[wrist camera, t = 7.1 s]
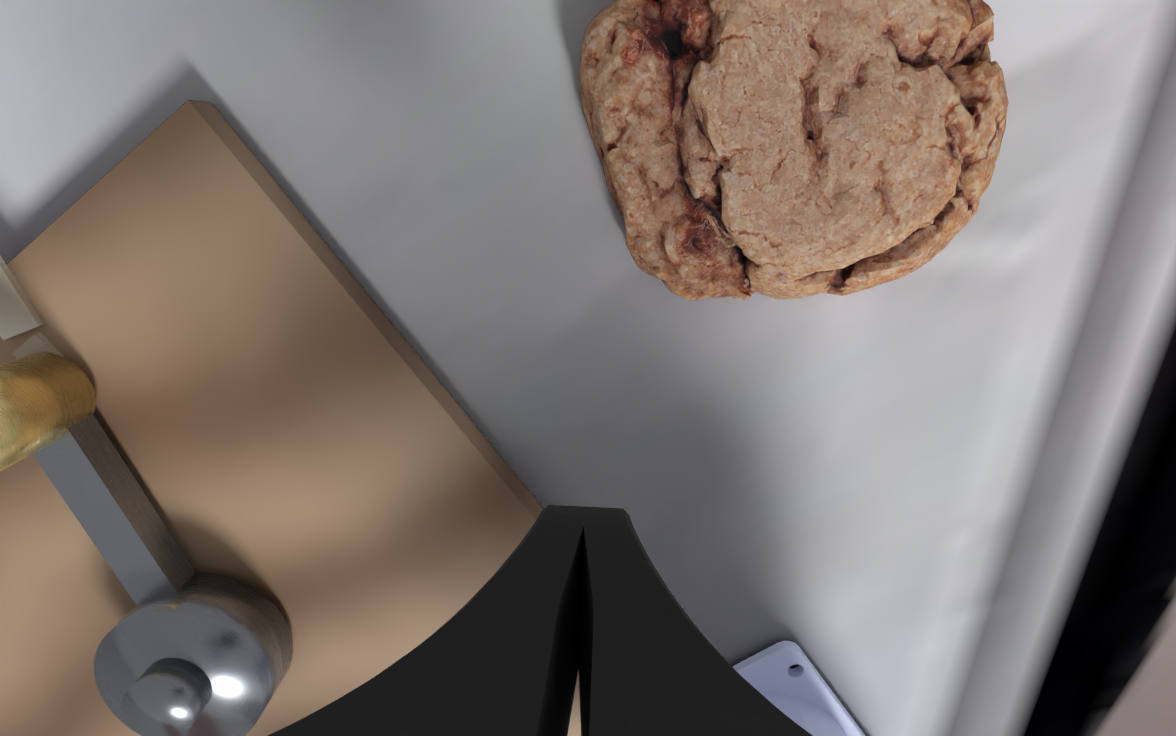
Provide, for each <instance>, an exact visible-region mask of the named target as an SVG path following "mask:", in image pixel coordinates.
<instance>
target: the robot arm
mask: <svg viewBox="0 0 1176 736" xmlns="http://www.w3.org/2000/svg"><path fill="white" fill-rule="evenodd" d="M795 664H798V665H799V666H798V667H797V668H793V669H792V668H789V667H790V666H791V665H795ZM578 670H579V696H580V720H581V736H865V734H864V733H863V732H862V730H861V729H860V728H859V726H858V725H857V724H856V722H855V721H854V720H853V718H852V717H851V716H850V714H849V713H848V712H847V710H846V709H845V708H844V706H843V705H842V704H841V702H840V701H839V700H838V698H837V697H836V695H835V694H834V693H833V691H832V690H831V689H830V687H829V686H828V685H827V683H826V682H825V681H824V679H823V678H822V677H821V675H820V674H819V673H818V671H817V670H816V669H815V667H814V666H813V665H812V663H811V662H810V661H809V659H808V658H807V657H806V655H805V654H804V653H803V651H802V650H801V649H800V647H799V646H798V645H797V644H796V643H794V642H791V641H781V642H778V643H776V644H774V645H772V646H770V647H768V648H766V649H765V650H763V651H761V652H759V653H757V654H755V655H753V656H751V657H749V658H747V659H746V660H744V661H742V662H740V663H738V664H736V665H734V666H731V665H730V664H729V663H728V662H727V661H726V660H725V659H724V658H723V657H722V656H721V655H720V654H719V652H718V651H717V650H716V649H715V648H714V647H713V646H712V645H711V644H710V642H709V641H708V640H707V639H706V638H705V637H704V635H703V634H702V633H701V632H700V631H699V629H698V628H697V627H696V626H695V624H694V623H693V622H692V621H691V619H690V618H689V617H688V615H687V614H686V613H685V611H684V610H683V609H682V607H681V606H680V605H679V603H678V602H677V601H676V599H675V598H674V596H673V595H672V593H671V592H670V590H669V589H668V588H667V586H666V584H665V583H664V581H663V580H662V578H661V577H660V575H659V573H658V572H657V570H656V569H655V567H654V565H653V564H652V562H651V560H650V559H649V557H648V555H647V553H646V551H645V550H644V548H643V546H642V544H641V542H640V540H639V538H638V536H637V534H636V532H635V529H634V527H633V525H632V522H631V519H630V516H629V515H628V514H627V512H626V511H625V510H624V509H618V508H598V507H577V506H556V505H548V506H547V507H546V508H545V509H543V510H542V511H541V513H540V515H539V516H538V518H537V520H536V521H535V523H534V524H533V526H532V527H531V529H530V530H529V531H528V533H527V534H526V536H525V537H524V538H523V540H522V541H521V542H520V544H519V545H518V546H517V548H516V549H515V550H514V551H513V552H512V554H511V555H510V556H509V557H508V558H507V560H506V561H505V562H504V563H503V565H502V566H501V567H500V568H499V569H498V571H497V572H496V573H495V574H494V575H493V576H492V577H491V578H490V579H489V580H488V581H487V583H486V584H485V585H484V586H483V587H482V588H481V589H480V590H479V591H478V592H477V593H476V594H475V595H474V596H473V597H472V598H471V599H470V600H469V601H468V602H467V603H466V604H465V605H464V606H463V607H462V608H461V609H460V610H459V611H458V612H457V613H456V614H455V615H454V616H453V617H452V618H450V619H449V620H448V621H447V622H446V623H445V624H444V625H443V626H441V627H440V628H439V629H438V630H437V631H436V632H434V633H433V634H432V635H431V636H430V637H428V638H427V639H426V640H425V641H424V642H422V643H421V644H420V645H418V646H417V647H416V648H414V649H413V650H412V651H410V652H409V653H408V654H406V655H405V656H403V657H402V658H401V659H399V660H398V661H396V662H395V663H393V664H392V665H391V666H389V667H388V668H386V669H385V670H383V671H382V672H381V673H379V674H378V675H376V676H375V677H373V678H372V679H370V680H369V681H367V682H365V683H364V684H362V685H360V686H359V687H357V688H356V689H354V690H352V691H351V692H349V693H347V694H346V695H344V696H342V697H341V698H339V699H337V700H335V701H333V702H332V703H330V704H328V705H326V706H325V707H323V708H321V709H319V710H317V711H316V712H314V713H312V714H310V715H308V716H306V717H304V718H302V719H301V720H299V721H297V722H295V723H293V724H291V725H289V726H287V727H285V728H282V729H280V730H278V731H276V732H274V733H272V734H270V735H268V736H567V735H568V729H569V723H570V717H571V711H572V705H573V699H574V693H575V687H576V681H577V675H578Z"/></svg>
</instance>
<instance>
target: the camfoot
mask: <svg viewBox="0 0 1176 736" xmlns="http://www.w3.org/2000/svg"><path fill="white" fill-rule="evenodd" d="M95 407H96V396H95V392H94V388H93V386H92V384H91V382H90V380H89V378H88V377H87V376H86V374H85V373H84V372H83V371H82V370H81V369H80V368H79V367H78V366H77V365H76V364H74V363H73V362H72V361H70V360H68V359H67V358H65V357H62V356H60V355H57V354H54V353H48V352H37V353H32V354H29V355H27V356H24V357H21V358H19V359H16V360H13V361H10V362H8V363H5V364H2V365H0V471H2V470H4V469H6V468H8V467H9V466H11V465H13V464H15V463H17V462H19V461H20V460H22V459H24V458H26V457H28V456H30V455H31V454H32V455H33V456H34V458H35V459H36V460H37V462H38V463H39V465H40V466H41V468H42V469H43V471H44V472H45V473H46V475H47V476H48V478H49V479H50V481H51V482H52V484H53V485H54V487H55V488H56V489H57V491H58V492H59V494H60V495H61V497H62V498H63V500H64V501H65V502H66V504H67V505H68V507H69V508H70V510H71V511H72V513H73V514H74V515H75V517H76V518H77V520H78V521H79V523H80V524H81V526H82V527H83V529H84V530H85V531H86V533H87V534H88V536H89V537H90V539H91V540H92V542H93V543H94V544H95V546H96V547H97V549H98V550H99V552H100V553H101V555H102V556H103V558H104V559H105V560H106V562H107V563H108V565H109V566H110V568H111V569H112V571H113V572H114V573H115V575H116V576H117V578H118V579H119V581H120V582H121V584H122V585H123V587H124V588H125V589H126V591H127V592H128V594H129V595H130V597H131V598H132V600H133V601H134V602H135V604H136V606H135V607H134V608H133V609H132V610H131V611H130V612H129V613H128V614H127V615H126V616H125V617H124V618H123V619H122V620H121V621H120V622H119V623H118V624H117V625H116V626H115V627H114V628H112V629H111V630H110V631H109V632H108V633H107V635H106V636H105V637H104V638H103V639H102V641H101V643H100V644H99V646H98V648H97V651H96V654H95V658H94V677H95V682H96V685H97V688H98V691H99V693H100V695H101V697H102V699H103V700H104V702H105V703H106V705H107V706H108V708H109V709H110V710H111V711H112V713H113V714H114V715H115V716H116V717H117V718H118V719H119V720H120V721H121V722H122V723H124V724H125V725H126V726H127V727H129V728H130V729H131V730H133V731H134V732H136V733H138V734H139V735H141V736H245V735H246V734H247V733H248V732H249V731H250V730H251V729H252V728H253V727H254V725H255V724H256V723H257V721H258V719H259V718H260V716H261V714H262V713H263V711H264V710H265V708H266V706H267V705H268V703H269V701H270V700H271V698H272V696H273V695H274V693H275V691H276V690H277V688H278V687H279V685H280V683H281V682H282V680H283V678H284V677H285V675H286V673H287V672H288V669H289V667H290V665H291V661H292V657H293V641H292V636H291V632H290V630H289V627H288V624H287V623H286V621H285V619H284V617H283V616H282V614H281V613H280V611H279V610H278V609H277V607H276V606H275V605H274V604H273V603H272V602H271V601H270V600H269V599H268V598H267V597H266V596H264V595H263V594H262V593H261V592H259V591H258V590H256V589H255V588H253V587H251V586H250V585H248V584H246V583H244V582H242V581H240V580H237V579H235V578H232V577H229V576H226V575H221V574H216V573H208V572H195V570H194V569H193V567H192V566H191V564H190V563H189V561H188V560H187V558H186V557H185V555H184V553H183V552H182V550H181V549H180V547H179V546H178V544H177V543H176V541H175V540H174V538H173V536H172V535H171V533H170V532H169V530H168V529H167V527H166V526H165V524H164V523H163V521H162V519H161V518H160V516H159V515H158V513H157V512H156V510H155V509H154V507H153V506H152V504H151V502H150V501H149V499H148V498H147V496H146V495H145V493H144V492H143V490H142V489H141V487H140V485H139V484H138V482H137V481H136V479H135V478H134V476H133V475H132V473H131V472H130V470H129V468H128V467H127V465H126V464H125V462H124V461H123V459H122V458H121V456H120V455H119V453H118V451H117V450H116V448H115V447H114V445H113V444H112V442H111V441H110V439H109V438H108V436H107V434H106V433H105V431H104V430H103V428H102V427H101V425H100V424H99V422H98V421H97V419H96V418H95V416H94V411H95Z"/></svg>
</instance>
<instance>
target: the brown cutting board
mask: <svg viewBox="0 0 1176 736" xmlns="http://www.w3.org/2000/svg"><path fill="white" fill-rule="evenodd" d="M37 352H48V353H54V354H57V355H60V356H62V357H65V358H67V359H68V360H70V361H72V362H73V363H74V364H76V365H77V366H78V367H79V368H80V369H81V370H82V371H83V372H84V373H85V374H86V376H87V377H88V378H89V380H90V382H91V384H92V386H93V388H94V392H95V396H96V407H95V411H94V416H95V418H96V419H97V421H98V422H99V424H100V425H101V427H102V428H103V430H104V431H105V433H106V434H107V436H108V438H109V439H110V441H111V442H112V444H113V445H114V447H115V448H116V450H117V451H118V453H119V455H120V456H121V458H122V459H123V461H124V462H125V464H126V465H127V467H128V468H129V470H130V472H131V473H132V475H133V476H134V478H135V479H136V481H137V482H138V484H139V485H140V487H141V489H142V490H143V492H144V493H145V495H146V496H147V498H148V499H149V501H150V502H151V504H152V506H153V507H154V509H155V510H156V512H157V513H158V515H159V516H160V518H161V519H162V521H163V523H164V524H165V526H166V527H167V529H168V530H169V532H170V533H171V535H172V536H173V538H174V540H175V541H176V543H177V544H178V546H179V547H180V549H181V550H182V552H183V553H184V555H185V557H186V558H187V560H188V561H189V563H190V564H191V566H192V567H193V569H194V570H195V572H208V573H216V574H221V575H226V576H229V577H232V578H235V579H237V580H240V581H242V582H244V583H246V584H248V585H250V586H251V587H253V588H255V589H256V590H258V591H259V592H261V593H262V594H263V595H264V596H266V597H267V598H268V599H269V600H270V601H271V602H272V603H273V604H274V605H275V606H276V607H277V609H278V610H279V611H280V613H281V614H282V616H283V617H284V619H285V621H286V623H287V624H288V627H289V630H290V632H291V636H292V641H293V657H292V661H291V665H290V667H289V669H288V672H287V673H286V675H285V677H284V678H283V680H282V682H281V683H280V685H279V687H278V688H277V690H276V691H275V693H274V695H273V696H272V698H271V700H270V701H269V703H268V705H267V706H266V708H265V710H264V711H263V713H262V714H261V716H260V718H259V719H258V721H257V723H256V724H255V725H254V727H253V728H252V729H251V730H250V731H249V732H248V733H247V734H246V735H245V736H268V735H270V734H272V733H274V732H276V731H278V730H280V729H282V728H285V727H287V726H289V725H291V724H293V723H295V722H297V721H299V720H301V719H302V718H304V717H306V716H308V715H310V714H312V713H314V712H316V711H317V710H319V709H321V708H323V707H325V706H326V705H328V704H330V703H332V702H333V701H335V700H337V699H339V698H341V697H342V696H344V695H346V694H347V693H349V692H351V691H352V690H354V689H356V688H357V687H359V686H360V685H362V684H364V683H365V682H367V681H369V680H370V679H372V678H373V677H375V676H376V675H378V674H379V673H381V672H382V671H383V670H385V669H386V668H388V667H389V666H391V665H392V664H393V663H395V662H396V661H398V660H399V659H401V658H402V657H403V656H405V655H406V654H408V653H409V652H410V651H412V650H413V649H414V648H416V647H417V646H418V645H420V644H421V643H422V642H424V641H425V640H426V639H427V638H428V637H430V636H431V635H432V634H433V633H434V632H436V631H437V630H438V629H439V628H440V627H441V626H443V625H444V624H445V623H446V622H447V621H448V620H449V619H450V618H452V617H453V616H454V615H455V614H456V613H457V612H458V611H459V610H460V609H461V608H462V607H463V606H464V605H465V604H466V603H467V602H468V601H469V600H470V599H471V598H472V597H473V596H474V595H475V594H476V593H477V592H478V591H479V590H480V589H481V588H482V587H483V586H484V585H485V584H486V583H487V581H488V580H489V579H490V578H491V577H492V576H493V575H494V574H495V573H496V572H497V571H498V569H499V568H500V567H501V566H502V565H503V563H504V562H505V561H506V560H507V558H508V557H509V556H510V555H511V554H512V552H513V551H514V550H515V549H516V548H517V546H518V545H519V544H520V542H521V541H522V540H523V538H524V537H525V536H526V534H527V533H528V531H529V530H530V529H531V527H532V526H533V524H534V523H535V521H536V520H537V518H538V516H539V515H540V513H541V511H542V510H543V507H542V506H541V505H540V504H539V502H538V501H537V500H536V499H535V498H534V496H533V495H532V494H531V493H530V492H529V490H528V489H527V488H526V487H525V485H524V484H523V483H522V482H521V481H520V479H519V478H518V477H517V476H516V474H515V473H514V472H513V471H512V470H511V468H510V467H509V466H508V465H507V463H506V462H505V461H504V460H503V459H502V457H501V456H500V455H499V454H498V452H497V451H496V450H495V449H494V448H493V446H492V445H491V444H490V443H489V441H488V440H487V439H486V438H485V437H484V435H483V434H482V433H481V432H480V430H479V429H478V428H477V427H476V426H475V424H474V423H473V422H472V421H471V419H470V418H469V417H468V416H467V415H466V413H465V412H464V411H463V410H462V408H461V407H460V406H459V405H458V404H457V402H456V401H455V400H454V399H453V398H452V396H451V395H450V394H449V393H448V391H447V390H446V389H445V388H444V387H443V385H442V384H441V383H440V382H439V380H438V379H437V378H436V377H435V376H434V374H433V373H432V372H431V371H430V369H429V368H428V367H427V366H426V365H425V363H424V362H423V361H422V360H421V358H420V357H419V356H418V355H417V354H416V352H415V351H414V350H413V349H412V347H411V346H410V345H409V344H408V343H407V341H406V340H405V339H404V338H403V336H402V335H401V334H400V333H399V332H398V330H397V329H396V328H395V327H394V325H393V324H392V323H391V322H390V321H389V319H388V318H387V317H386V316H385V314H384V313H383V312H382V311H381V310H380V308H379V307H378V306H377V305H376V304H375V302H374V301H373V300H372V299H371V297H370V296H369V295H368V294H367V293H366V291H365V290H364V289H363V288H362V286H361V285H360V284H359V283H358V282H357V280H356V279H355V278H354V277H353V275H352V274H351V273H350V272H349V271H348V269H347V268H346V267H345V266H344V264H343V263H342V262H341V261H340V260H339V258H338V257H337V256H336V255H335V253H334V252H333V251H332V250H331V249H330V247H329V246H328V245H327V244H326V242H325V241H324V240H323V239H322V238H321V236H320V235H319V234H318V233H317V231H316V230H315V229H314V228H313V227H312V225H311V224H310V223H309V222H308V220H307V219H306V218H305V217H304V216H303V214H302V213H301V212H300V211H299V209H298V208H297V207H296V206H295V205H294V203H293V202H292V201H291V200H290V199H289V197H288V196H287V195H286V194H285V192H284V191H283V190H282V189H281V188H280V186H279V185H278V184H277V183H276V181H275V180H274V179H273V178H272V177H271V175H270V174H269V173H268V172H267V170H266V169H265V168H264V167H263V166H262V164H261V163H260V162H259V161H258V159H257V158H256V157H255V156H254V155H253V153H252V152H251V151H250V150H249V148H248V147H247V146H246V145H245V144H244V142H243V141H242V140H241V139H240V137H239V136H238V135H237V134H236V133H235V131H234V130H233V129H232V128H231V126H230V125H229V124H228V123H227V122H226V120H225V119H224V118H223V117H222V115H221V114H220V113H219V112H218V111H217V109H216V108H215V107H214V106H213V105H212V103H211V102H204V101H192V100H188V101H187V102H186V103H185V104H183V105H182V106H181V107H180V108H179V109H178V110H177V111H176V112H175V113H174V114H172V115H171V116H170V117H169V118H168V119H167V120H166V121H165V122H164V123H163V124H161V125H160V126H159V127H158V128H157V129H156V130H155V131H154V132H153V133H151V134H150V135H149V136H148V137H147V138H146V139H145V140H144V141H143V142H142V143H140V144H139V145H138V146H137V147H136V148H135V149H134V150H133V151H132V152H131V153H129V154H128V155H127V156H126V157H125V158H124V159H123V160H122V161H121V162H120V163H118V164H117V165H116V166H115V167H114V168H113V169H112V170H111V171H110V172H108V173H107V174H106V175H105V176H104V177H103V178H102V179H101V180H100V181H99V182H97V183H96V184H95V185H94V186H93V187H92V188H91V189H90V190H89V191H88V192H86V193H85V194H84V195H83V196H82V197H81V198H80V199H79V200H78V201H77V202H75V203H74V204H73V205H72V206H71V207H70V208H69V209H68V210H67V211H65V212H64V213H63V214H62V215H61V216H60V217H59V218H58V219H57V220H56V221H54V222H53V223H52V224H51V225H50V226H49V227H48V228H47V229H46V230H45V231H43V232H42V233H41V234H40V235H39V236H38V237H37V238H36V239H35V240H33V241H32V242H31V243H30V244H29V245H28V246H27V247H26V248H25V249H24V250H22V251H21V252H20V253H19V254H18V255H17V256H16V257H15V258H14V259H13V260H11V261H10V262H9V263H8V264H7V265H6V263H5V262H4V260H3V258H2V257H1V255H0V365H2V364H5V363H8V362H10V361H13V360H16V359H19V358H21V357H24V356H27V355H29V354H32V353H37ZM135 606H136V604H135V602H134V601H133V600H132V598H131V597H130V595H129V594H128V592H127V591H126V589H125V588H124V587H123V585H122V584H121V582H120V581H119V579H118V578H117V576H116V575H115V573H114V572H113V571H112V569H111V568H110V566H109V565H108V563H107V562H106V560H105V559H104V558H103V556H102V555H101V553H100V552H99V550H98V549H97V547H96V546H95V544H94V543H93V542H92V540H91V539H90V537H89V536H88V534H87V533H86V531H85V530H84V529H83V527H82V526H81V524H80V523H79V521H78V520H77V518H76V517H75V515H74V514H73V513H72V511H71V510H70V508H69V507H68V505H67V504H66V502H65V501H64V500H63V498H62V497H61V495H60V494H59V492H58V491H57V489H56V488H55V487H54V485H53V484H52V482H51V481H50V479H49V478H48V476H47V475H46V473H45V472H44V471H43V469H42V468H41V466H40V465H39V463H38V462H37V460H36V459H35V458H34V456H33V455H32V454H31V455H30V456H28V457H26V458H24V459H22V460H20V461H19V462H17V463H15V464H13V465H11V466H9V467H8V468H6V469H4V470H2V471H0V736H141V735H139V734H138V733H136V732H134V731H133V730H131V729H130V728H129V727H127V726H126V725H125V724H124V723H122V722H121V721H120V720H119V719H118V718H117V717H116V716H115V715H114V714H113V713H112V711H111V710H110V709H109V708H108V706H107V705H106V703H105V702H104V700H103V699H102V697H101V695H100V693H99V691H98V688H97V685H96V682H95V677H94V658H95V654H96V651H97V648H98V646H99V644H100V643H101V641H102V639H103V638H104V637H105V636H106V635H107V633H108V632H109V631H110V630H111V629H112V628H114V627H115V626H116V625H117V624H118V623H119V622H120V621H121V620H122V619H123V618H124V617H125V616H126V615H127V614H128V613H129V612H130V611H131V610H132V609H133V608H134V607H135ZM567 736H581V720H580V696H579V670H578V675H577V681H576V687H575V693H574V699H573V705H572V711H571V717H570V723H569V729H568V735H567Z"/></svg>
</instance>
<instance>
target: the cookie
mask: <svg viewBox="0 0 1176 736" xmlns="http://www.w3.org/2000/svg"><path fill="white" fill-rule="evenodd" d="M993 17H994V13H993V12H992V10H991V8H990V6H989V5H987V4H986V3H985V2H984V1H982V0H617V1H615V2H613V3H611V4H610V5H608V6H607V7H605V8H604V9H603V10H602V11H601V12H600V13H599V14H598V15H597V16H596V17H595V18H594V19H593V20H592V21H591V23H590V24H589V25H588V27H587V29H586V32H585V36H584V39H583V43H582V50H581V60H580V82H581V90H580V95H581V100H582V105H583V110H584V113H585V117H586V121H587V124H588V128H589V130H590V133H591V136H592V139H593V142H594V144H595V147H596V149H597V151H598V154H599V156H600V158H601V161H602V163H603V165H604V174H605V177H606V181H607V185H608V187H609V190H610V193H611V195H612V197H613V199H614V201H615V203H616V205H617V207H618V209H619V211H620V213H621V214H622V216H623V217H624V220H625V228H626V245H627V247H628V249H629V251H630V253H631V255H632V257H633V259H634V261H635V262H636V264H637V266H638V267H639V268H640V269H642V270H643V271H644V272H646V273H647V274H649V275H652V276H654V277H656V278H659V279H661V280H662V281H663V283H664V284H665V285H666V286H667V288H668V289H669V290H670V291H671V292H673V293H675V294H677V295H679V296H681V297H683V298H685V299H687V300H701V299H706V298H708V297H729V296H732V297H734V298H741V299H744V300H745V299H747V298H749V297H750V296H751V295H750V294H752V293H754V292H757V293H761V294H764V295H767V296H770V297H773V298H776V299H796V298H804V297H807V296H811V295H815V294H818V293H830V294H835V295H841V296H843V295H847V294H851V293H854V292H858V291H861V290H864V289H868V288H872V287H874V286H877V285H879V284H883V283H886V282H889V281H893V280H896V279H899V278H901V277H903V276H905V275H907V274H909V273H912V272H913V271H915V270H917V269H918V268H920V267H921V266H922V265H924V264H925V263H927V262H929V261H930V260H931V259H932V258H933V257H934V256H935V255H936V254H938V253H939V252H940V251H941V250H943V249H944V248H945V247H946V246H947V245H948V243H949V242H950V241H951V240H952V239H953V238H954V236H955V235H956V234H957V233H958V232H959V231H960V230H961V229H962V228H963V227H964V226H965V225H966V224H967V223H968V222H969V221H970V220H971V218H972V217H973V216H974V215H975V214H976V212H977V209H978V205H979V199H980V197H981V196H982V194H983V193H984V192H985V190H986V189H987V187H988V186H989V184H990V180H991V177H992V174H993V171H994V168H995V162H996V159H997V157H998V154H999V151H1000V146H1001V142H1002V138H1003V134H1004V131H1005V128H1006V113H1007V107H1008V98H1007V94H1006V88H1005V81H1004V77H1003V72H1002V69H1001V68H1000V66H999V65H998V63H997V62H996V61H994V62H991V58H990V51H989V47H988V44H987V43H988V42H990V41H992V40H993Z"/></svg>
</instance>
